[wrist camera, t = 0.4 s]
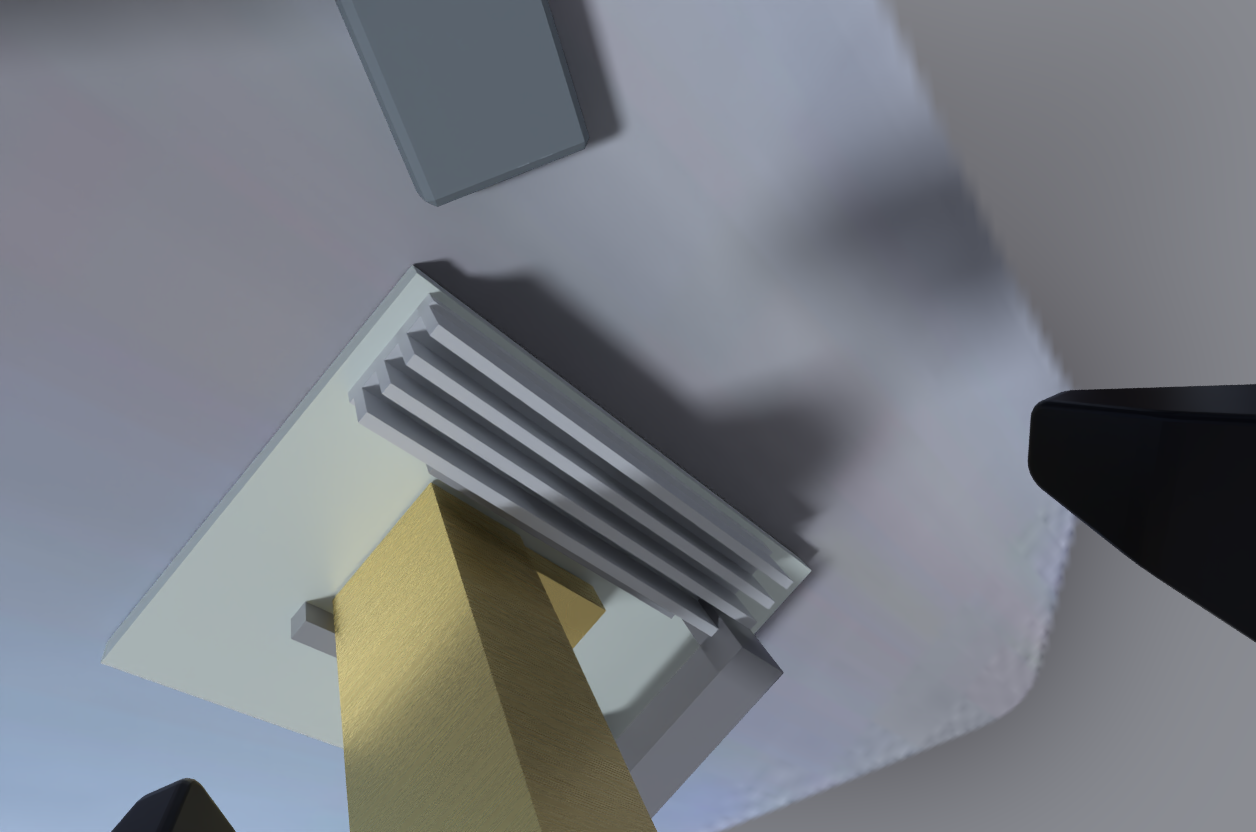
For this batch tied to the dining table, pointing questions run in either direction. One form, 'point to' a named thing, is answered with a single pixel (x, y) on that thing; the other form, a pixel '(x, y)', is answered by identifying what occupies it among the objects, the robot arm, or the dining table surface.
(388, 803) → the yellow rectangular block
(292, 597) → the socket board
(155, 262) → the dining table surface
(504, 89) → the dark grey flat block
